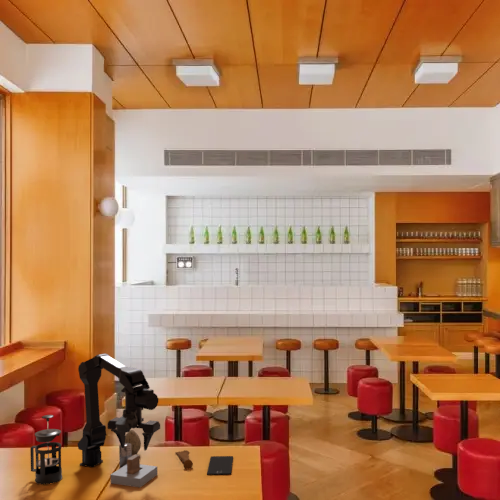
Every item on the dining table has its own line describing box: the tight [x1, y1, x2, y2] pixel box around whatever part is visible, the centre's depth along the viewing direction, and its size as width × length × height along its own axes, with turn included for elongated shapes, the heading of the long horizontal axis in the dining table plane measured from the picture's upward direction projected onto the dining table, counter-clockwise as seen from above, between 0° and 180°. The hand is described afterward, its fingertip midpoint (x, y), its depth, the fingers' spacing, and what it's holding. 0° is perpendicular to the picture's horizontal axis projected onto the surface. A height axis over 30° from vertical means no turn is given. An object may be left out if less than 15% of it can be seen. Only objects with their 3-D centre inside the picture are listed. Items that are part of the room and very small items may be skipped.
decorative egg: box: [125, 429, 142, 456], centre depth 233 cm, size 7×7×10 cm
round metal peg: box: [118, 443, 133, 469], centre depth 221 cm, size 4×4×8 cm
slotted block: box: [110, 463, 158, 488], centre depth 208 cm, size 12×12×3 cm
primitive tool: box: [175, 449, 194, 470], centre depth 226 cm, size 19×6×4 cm, turn 17°
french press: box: [29, 414, 63, 485], centre depth 209 cm, size 12×9×23 cm
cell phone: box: [206, 455, 234, 476], centre depth 219 cm, size 9×18×1 cm, turn 179°
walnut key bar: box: [127, 454, 141, 474], centre depth 208 cm, size 2×5×8 cm, turn 159°
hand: (134, 449), depth 208 cm, fingers open, 9 cm apart
